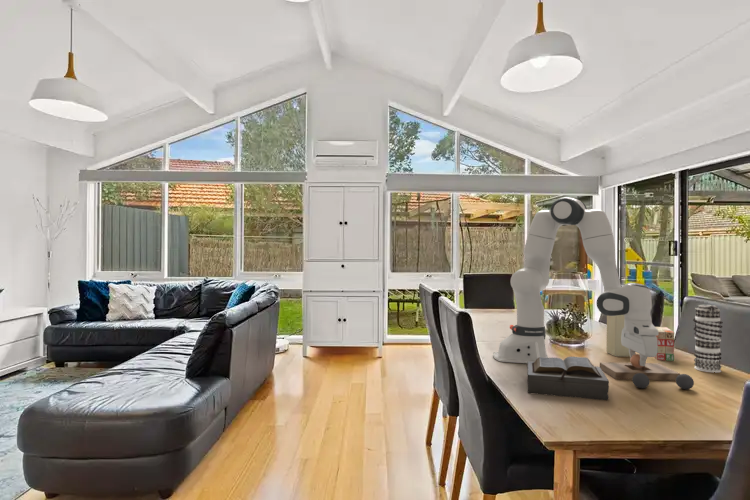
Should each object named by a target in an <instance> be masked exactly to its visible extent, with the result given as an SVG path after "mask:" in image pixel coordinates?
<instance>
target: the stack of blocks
mask: <svg viewBox="0 0 750 500" xmlns="http://www.w3.org/2000/svg"><path fill="white" fill-rule="evenodd" d="M655 327H656V328H657V329H658V335H657V336H656V337H657V341H658V346H657V355H656V356H655V357H654V358H655V359H656V360H658V361H670V362H674V360H675V332H674V331H673V330H672V329H670V328H669V327H667V326H655Z"/></svg>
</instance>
